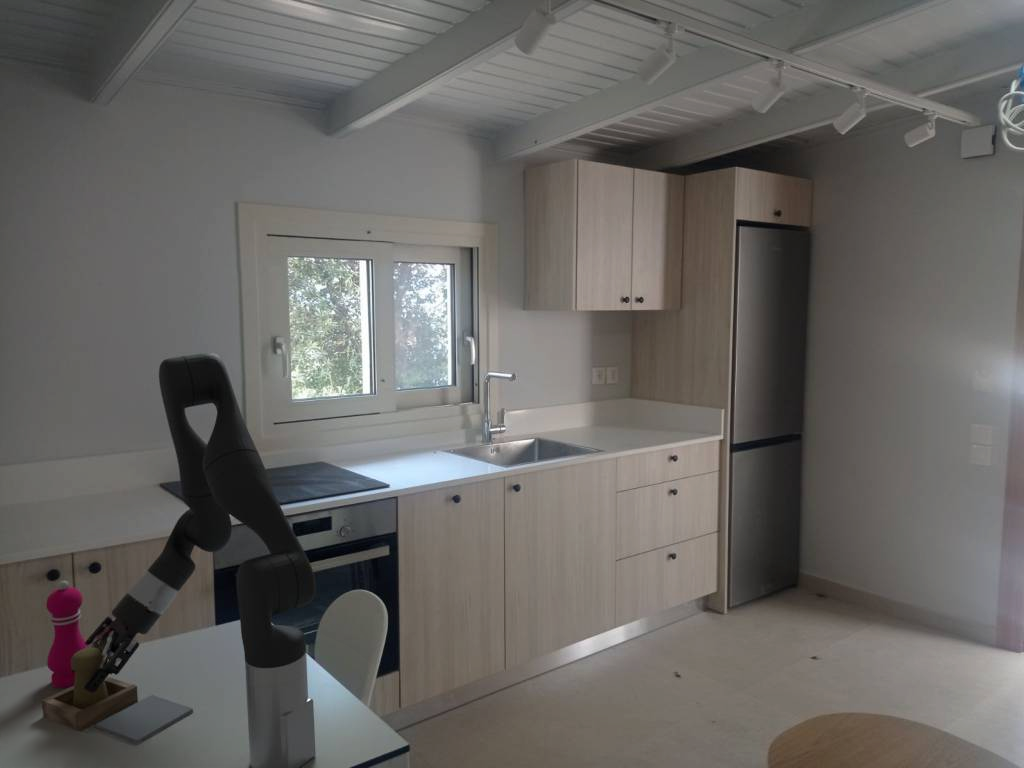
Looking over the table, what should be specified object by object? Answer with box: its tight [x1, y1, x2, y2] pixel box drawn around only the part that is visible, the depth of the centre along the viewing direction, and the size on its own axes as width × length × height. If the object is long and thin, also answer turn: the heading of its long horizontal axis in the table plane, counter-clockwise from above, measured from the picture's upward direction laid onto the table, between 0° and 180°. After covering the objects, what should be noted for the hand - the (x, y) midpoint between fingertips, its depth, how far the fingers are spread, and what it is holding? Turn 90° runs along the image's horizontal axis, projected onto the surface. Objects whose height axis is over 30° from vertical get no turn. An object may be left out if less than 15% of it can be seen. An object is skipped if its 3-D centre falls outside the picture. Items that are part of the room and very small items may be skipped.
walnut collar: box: [41, 675, 139, 732], centre depth 135 cm, size 11×11×3 cm
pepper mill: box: [45, 580, 87, 689], centre depth 145 cm, size 7×7×20 cm
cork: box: [71, 647, 108, 710], centre depth 135 cm, size 6×6×11 cm
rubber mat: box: [95, 694, 194, 745], centre depth 132 cm, size 11×11×1 cm
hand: (81, 681), depth 134 cm, fingers open, 8 cm apart
